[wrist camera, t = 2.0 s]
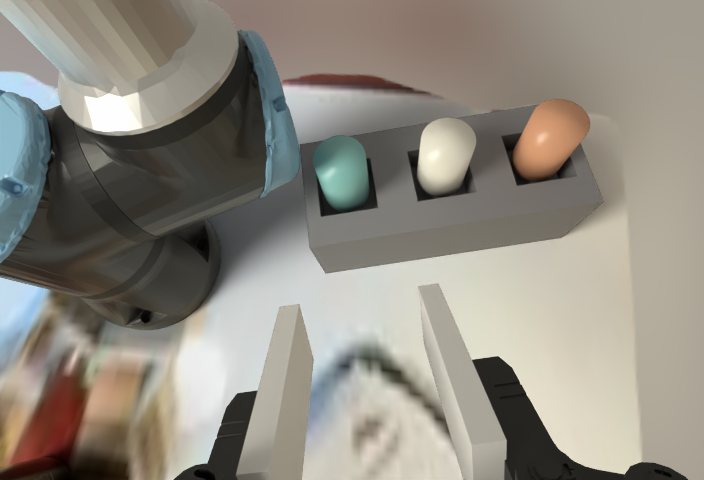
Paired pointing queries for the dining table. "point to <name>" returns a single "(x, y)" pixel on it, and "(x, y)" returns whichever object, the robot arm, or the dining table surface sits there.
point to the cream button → (444, 156)
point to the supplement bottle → (36, 470)
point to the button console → (445, 199)
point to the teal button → (342, 172)
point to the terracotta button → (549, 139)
